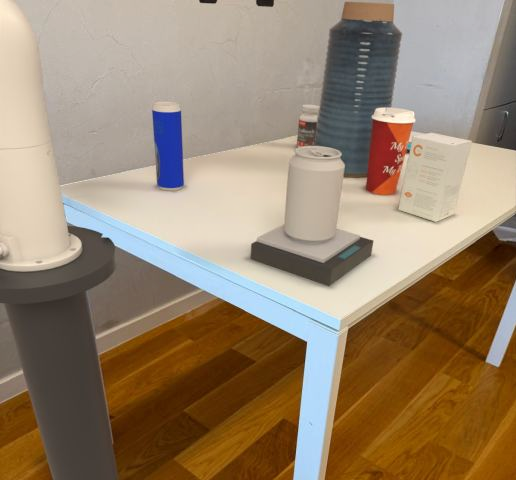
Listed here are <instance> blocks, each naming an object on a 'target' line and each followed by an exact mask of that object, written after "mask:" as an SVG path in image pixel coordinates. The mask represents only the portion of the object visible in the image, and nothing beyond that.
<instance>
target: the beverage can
mask: <svg viewBox="0 0 516 480" xmlns="http://www.w3.org/2000/svg"><path fill="white" fill-rule="evenodd" d="M151 115H152V128H153V129H152V130H153V141H154V143H153V144H154V157H155V172H156V173H155V175H156V186H157V187H158V188H159V189H160V190H161V191H164V192H165V191H167V192H174V191H180V190H182V188H183V187H184V185H185V177H184V175H185V174H184V173H185V172H184V152H183V150H184V148H183V126H182V125H183V124H182V108H181V106H180V103H179V102H175V101H156V102H153V103H152V108H151Z"/></svg>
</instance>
